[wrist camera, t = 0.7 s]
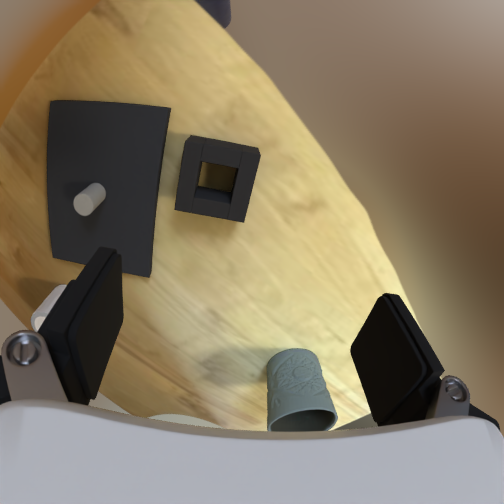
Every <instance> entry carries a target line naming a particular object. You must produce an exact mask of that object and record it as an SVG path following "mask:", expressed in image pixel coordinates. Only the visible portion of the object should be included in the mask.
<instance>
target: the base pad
mask: <svg viewBox="0 0 504 504" xmlns="http://www.w3.org/2000/svg"><path fill="white" fill-rule="evenodd" d="M170 112H171V108H166V107H158V106H150V105H140V104H129V103H117V102H101V101H73V100H55V101H51V102H50V112H49V125H48V142H47V196H48V214H49V227H50V237H51V246H52V254H53V258H57V259H62V260H66V261H70V262H75V263H80V264H84V265H86V264H87V263H88V262H89V260H90V259H91V258H92V256H93V255H94V253H95V252H96V251H97V249H98V248H99V247H100V246H102V247H107V248H113V249H116V250H117V254H121V256H122V272H123V273H128V274H133V275H138V276H143V277H148V278H149V277H150V274H151V269H152V253H153V240H154V228H155V217H156V208H157V199H158V190H159V182H160V174H161V167H162V160H163V153H164V147H165V140H166V134H167V128H168V123H169V117H170Z"/></svg>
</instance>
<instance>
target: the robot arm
mask: <svg viewBox="0 0 504 504" xmlns="http://www.w3.org/2000/svg"><path fill="white" fill-rule="evenodd" d="M123 316H124V314H123V294H122V256H121V254H117V250H116V249H113V248H107V247H102V246H100V247H99V248H98V249H97V251H96V252H95V253H94V255H93V256H92V258H91V259H90V260H89V262H88V263H87V264H86V266H85V267H84V269H83V270H82V272H81V273H80V274H79V276H78V277H77V279H76V280H71V281H70V282H69V283H68V285H67V286H66V288H65V289H64V291H63V292H62V293H61V295H60V296H59V298H58V299H57V301H56V303H55V304H54V306H53V307H52V309H51V310H50V312H49V313H48V315H47V317H46V318H45V320H44V321H43V323H42V325H41V326H40V328H39V330H38V331H37V332H35V331H32V330H21V331H18V332H15V333H13V334H11V335H10V336H9V337H8V338H7V339H6V340H5V342H4V343H3V346H2V355H0V504H504V437H503V436H502V434H501V432H500V428H499V424H498V422H497V421H496V420H495V419H493V418H492V417H490V416H489V415H487V414H486V413H484V412H483V411H481V410H479V409H478V408H476V407H475V406H473V405H472V404H470V393H469V390H468V388H467V387H466V385H465V384H464V383H463V382H462V381H461V380H460V379H459V378H457V377H454V376H450V375H449V376H445V377H444V378H443V379H442V380H441V379H440V376H441V375H442V373H443V372H444V371H445V370H444V368H443V367H442V365H441V363H440V361H439V359H438V358H437V356H436V354H435V353H434V351H433V349H432V347H431V346H430V344H429V342H428V341H427V339H426V337H425V336H424V334H423V332H422V331H421V329H420V327H419V326H418V324H417V323H416V321H415V319H414V318H413V316H412V315H411V313H410V311H409V310H408V308H407V307H406V305H405V304H404V302H403V301H402V299H401V298H400V296H399V295H397V294H389V293H384V294H383V295H382V296H380V297H379V298H378V299H377V301H376V303H375V305H374V307H373V308H372V310H371V312H370V314H369V316H368V318H367V319H366V321H365V323H364V325H363V326H362V328H361V330H360V332H359V333H358V335H357V337H356V338H355V340H354V342H353V343H352V345H351V349H350V352H351V356H352V359H353V362H354V364H355V367H356V370H357V373H358V375H359V378H360V381H361V384H362V387H363V390H364V393H365V396H366V399H367V402H368V405H369V407H370V411H371V414H372V417H373V419H374V421H375V422H377V424H378V427H371V428H361V429H349V430H334V431H310V432H271V431H248V430H232V429H220V428H210V427H201V426H193V425H186V424H178V423H172V422H166V421H160V420H155V419H149V418H143V417H138V416H133V415H128V414H124V413H119V412H115V411H110V410H106V409H101V408H97V407H91V406H88V404H89V402H90V399H93V400H94V399H95V398H96V396H97V392H98V390H99V387H100V384H101V381H102V378H103V375H104V372H105V369H106V366H107V363H108V361H109V358H110V355H111V352H112V350H113V347H114V344H115V341H116V339H117V336H118V334H119V331H120V328H121V326H122V323H123Z"/></svg>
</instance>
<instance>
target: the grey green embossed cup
mask: <svg viewBox="0 0 504 504" xmlns="http://www.w3.org/2000/svg"><path fill="white" fill-rule="evenodd" d="M267 389H268V392H267V410H268V415H267V430H268V431H271V432H310V431H328V430H329V429H331V428H332V427H333V426H334V425H335V423H336V422H337V419H338V416H337V413H336V410H335V408H334V405H333V402H332V399H331V397H330V393H329V391H328V390H327V388H326V382H325V380H324V378H323V376H322V369H321V366H320V363H319V360H318V358H317V356H316V355H315V354H314V353H313V352H311V351H309V350H306V349H289V350H285V351H282V352H280V353H278V354H276V355H275V356H273V357H272V358H271V359H270V361H269V362H268V365H267Z"/></svg>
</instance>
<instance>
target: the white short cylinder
mask: <svg viewBox="0 0 504 504" xmlns="http://www.w3.org/2000/svg"><path fill="white" fill-rule="evenodd" d="M66 286H67V285H59V286H57V287H55V289H54V290H53V291H52V292H51V293H50V294H49V295H48V297H47V298H46V299H45V300H44V301H43V303H42V304H41V305H40V306H39V307H38V309H37V310H36V311H35V312H34V313H33V315H32V317H31V324H32V327H33V329H34V331H35V332H37V331H38V330H39V328H40V326H41V325H42V323H43V321H44V320H45V318H46V317H47V315H48V313H49V312H50V310H51V309H52V307H53V306H54V304H55V303H56V301H57V299H58V298H59V296H60V295H61V293H62V292H63V291H64V289H65V288H66Z"/></svg>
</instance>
